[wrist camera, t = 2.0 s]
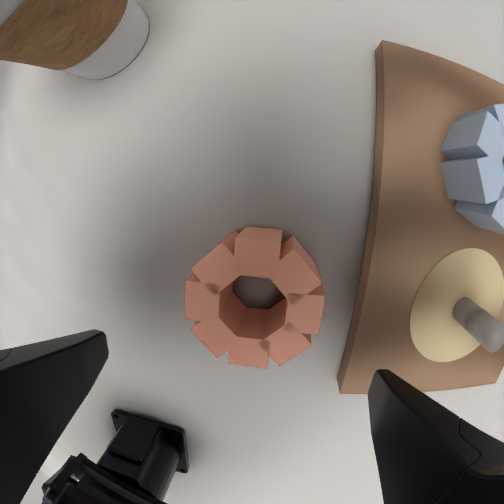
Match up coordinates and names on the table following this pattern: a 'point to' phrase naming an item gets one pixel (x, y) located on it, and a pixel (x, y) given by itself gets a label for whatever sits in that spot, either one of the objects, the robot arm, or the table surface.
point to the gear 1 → (252, 319)
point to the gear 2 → (477, 167)
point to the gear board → (424, 239)
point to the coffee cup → (73, 34)
